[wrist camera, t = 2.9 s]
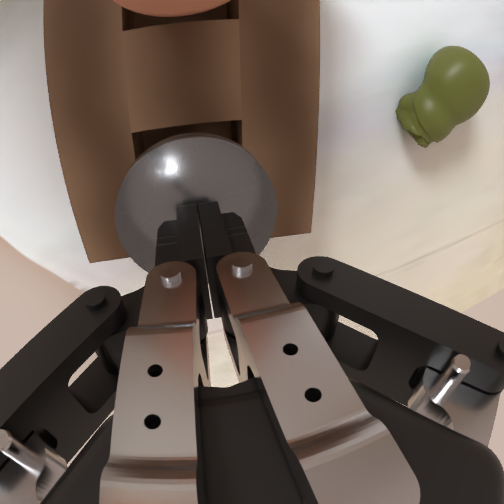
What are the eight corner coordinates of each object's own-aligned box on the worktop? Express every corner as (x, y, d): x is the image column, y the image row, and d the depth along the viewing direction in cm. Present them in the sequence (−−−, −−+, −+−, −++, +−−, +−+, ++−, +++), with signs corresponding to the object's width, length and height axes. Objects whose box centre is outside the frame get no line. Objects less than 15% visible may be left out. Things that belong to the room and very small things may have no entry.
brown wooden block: (103, 224, 21) (89, 263, 17) (74, -37, 10) (48, -60, 6) (286, 200, 24) (310, 232, 20) (286, -57, 12) (314, -82, 8)
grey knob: (143, 231, 18) (135, 293, 13) (124, 125, 14) (99, 152, 10) (249, 217, 19) (275, 273, 14) (247, 110, 15) (277, 131, 11)
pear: (508, 90, 15) (444, 171, 21) (469, 71, 19) (411, 143, 24) (480, 40, 13) (407, 131, 18) (437, 28, 17) (373, 107, 22)
